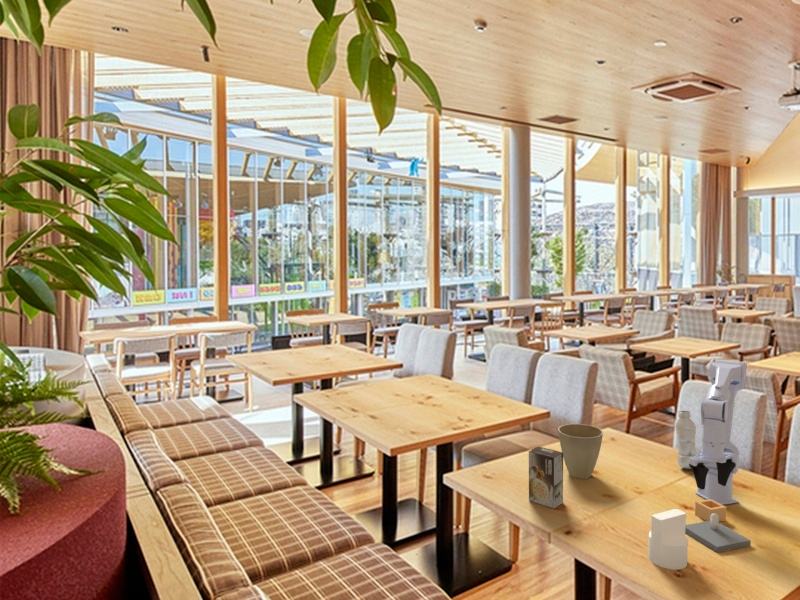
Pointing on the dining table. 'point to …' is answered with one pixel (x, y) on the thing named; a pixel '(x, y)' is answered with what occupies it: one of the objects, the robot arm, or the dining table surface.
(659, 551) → the cylinder with rectangular tab
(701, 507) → the orange loop
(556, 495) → the coffee box
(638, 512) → the dining table surface
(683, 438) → the plastic bottle
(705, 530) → the hook board
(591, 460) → the plant pot
